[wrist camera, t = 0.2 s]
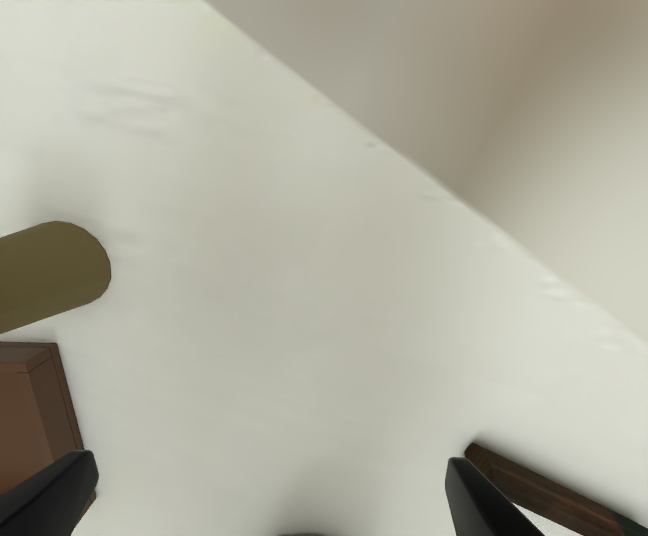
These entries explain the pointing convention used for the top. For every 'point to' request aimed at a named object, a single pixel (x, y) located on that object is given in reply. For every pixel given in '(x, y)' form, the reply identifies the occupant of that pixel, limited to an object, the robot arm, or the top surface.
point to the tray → (34, 413)
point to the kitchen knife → (550, 497)
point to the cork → (49, 272)
